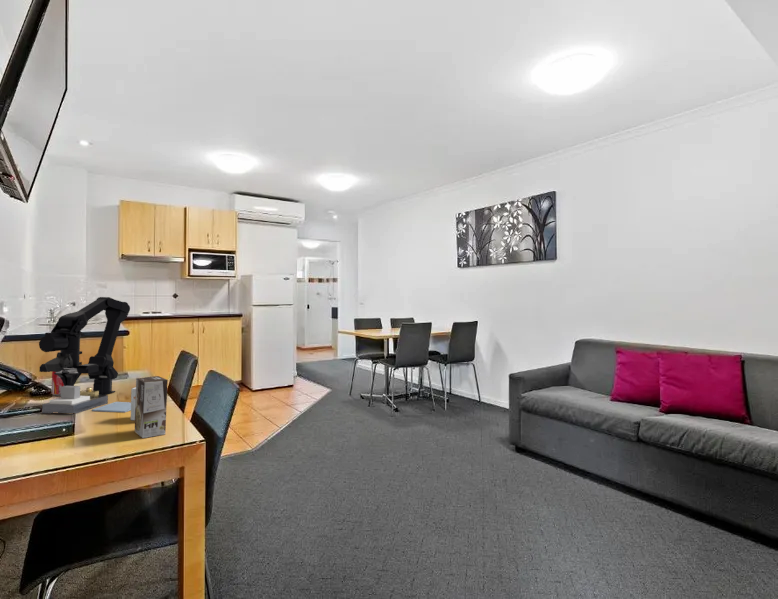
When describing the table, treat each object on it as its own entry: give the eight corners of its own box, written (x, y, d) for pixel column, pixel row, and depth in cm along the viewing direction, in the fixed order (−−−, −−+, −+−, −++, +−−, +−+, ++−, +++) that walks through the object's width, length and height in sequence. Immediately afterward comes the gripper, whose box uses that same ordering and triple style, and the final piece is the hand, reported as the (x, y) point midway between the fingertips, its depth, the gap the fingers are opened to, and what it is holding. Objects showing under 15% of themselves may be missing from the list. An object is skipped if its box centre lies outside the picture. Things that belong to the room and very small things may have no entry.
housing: (79, 402, 157) (80, 394, 157) (107, 403, 156) (108, 395, 156) (42, 413, 141) (42, 404, 141) (73, 414, 140) (73, 405, 140)
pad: (115, 403, 157) (116, 401, 157) (146, 404, 156) (146, 403, 156) (91, 411, 145) (91, 409, 145) (124, 412, 144) (124, 411, 144)
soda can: (61, 392, 172) (62, 363, 172) (77, 392, 172) (78, 363, 172) (46, 395, 165) (47, 365, 165) (63, 396, 165) (64, 366, 165)
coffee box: (166, 434, 122) (168, 379, 123) (141, 438, 118) (143, 382, 118) (157, 427, 129) (159, 375, 129) (133, 431, 124) (135, 377, 125)
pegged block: (83, 395, 155) (83, 387, 155) (98, 395, 155) (98, 387, 155) (78, 396, 153) (79, 388, 153) (94, 396, 153) (94, 388, 153)
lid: (68, 398, 150) (69, 384, 150) (89, 399, 149) (90, 384, 149) (49, 403, 142) (49, 388, 142) (71, 404, 141) (72, 389, 141)
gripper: (26, 350, 147) (24, 394, 147) (76, 352, 146) (75, 396, 146) (53, 347, 158) (51, 388, 158) (100, 349, 157) (98, 390, 157)
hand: (68, 391), depth 155 cm, fingers closed
